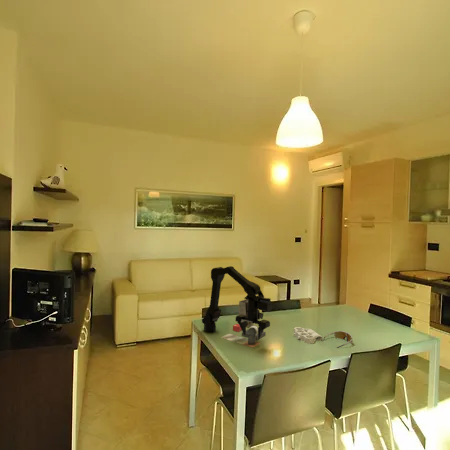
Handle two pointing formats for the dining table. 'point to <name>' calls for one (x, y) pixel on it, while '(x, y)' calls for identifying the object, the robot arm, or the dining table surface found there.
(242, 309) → the coffee box
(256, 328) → the cream cylinder
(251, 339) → the pawn
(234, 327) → the red die
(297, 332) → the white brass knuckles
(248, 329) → the base
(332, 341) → the dining table surface
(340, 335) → the sunglasses
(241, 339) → the game board
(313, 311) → the dining table surface
